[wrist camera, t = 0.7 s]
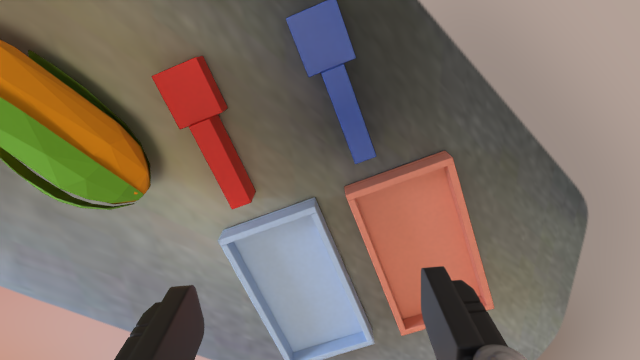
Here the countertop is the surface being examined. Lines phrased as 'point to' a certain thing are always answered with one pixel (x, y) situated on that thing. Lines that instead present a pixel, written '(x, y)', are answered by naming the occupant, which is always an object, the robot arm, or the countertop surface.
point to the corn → (66, 135)
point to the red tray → (417, 232)
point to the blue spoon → (332, 68)
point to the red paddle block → (205, 124)
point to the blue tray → (298, 282)
